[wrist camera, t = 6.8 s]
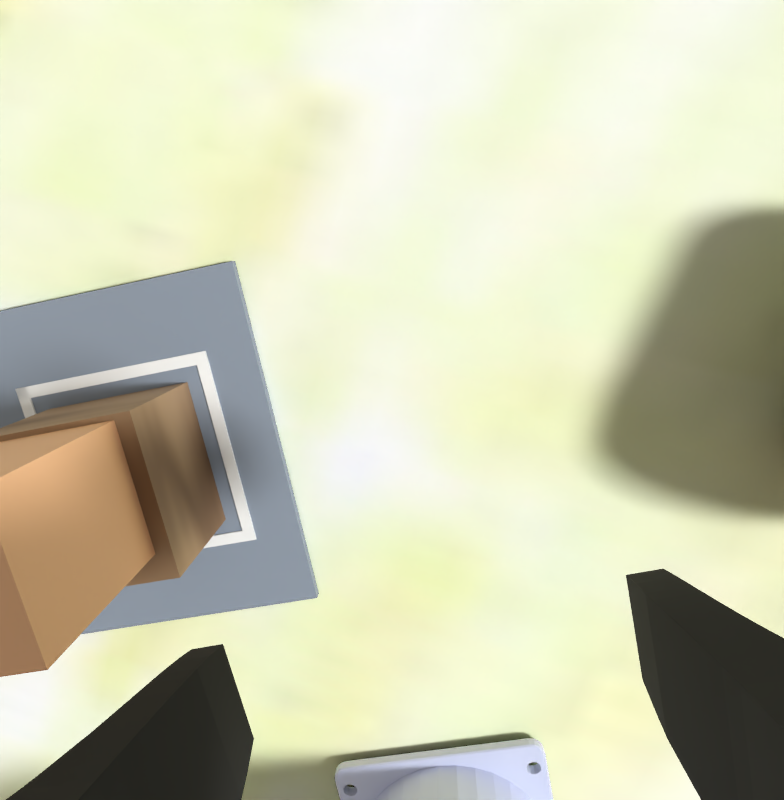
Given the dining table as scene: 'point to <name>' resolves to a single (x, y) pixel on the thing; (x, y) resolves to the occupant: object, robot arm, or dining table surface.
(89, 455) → the terracotta block
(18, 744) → the dining table surface
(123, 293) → the mat
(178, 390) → the walnut block
